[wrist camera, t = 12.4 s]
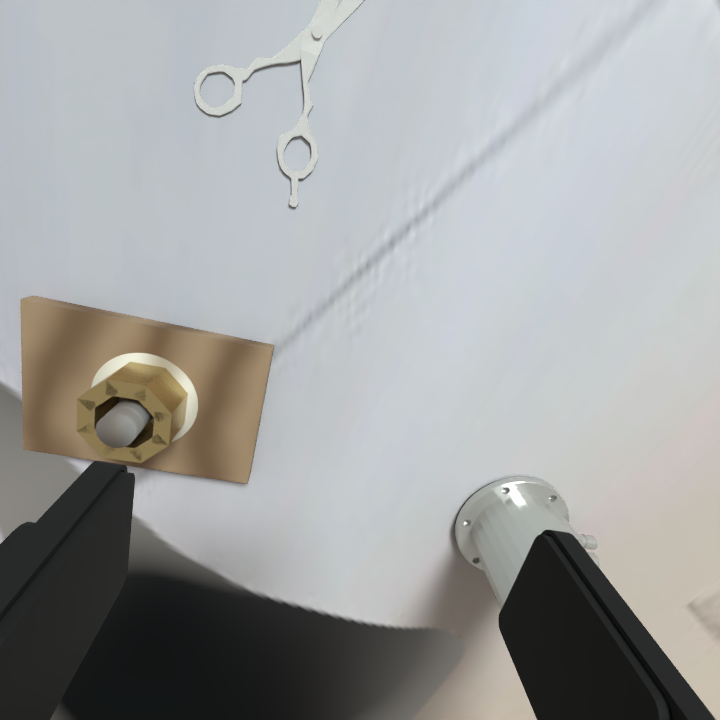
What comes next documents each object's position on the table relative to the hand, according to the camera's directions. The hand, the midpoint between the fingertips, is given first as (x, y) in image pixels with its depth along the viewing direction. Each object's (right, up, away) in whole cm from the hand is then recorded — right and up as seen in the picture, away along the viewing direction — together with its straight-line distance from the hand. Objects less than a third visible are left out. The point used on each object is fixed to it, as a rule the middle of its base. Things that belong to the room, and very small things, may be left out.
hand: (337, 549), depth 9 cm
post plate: (-19, +1, +28) cm, 34 cm away
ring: (-18, +1, +27) cm, 32 cm away
